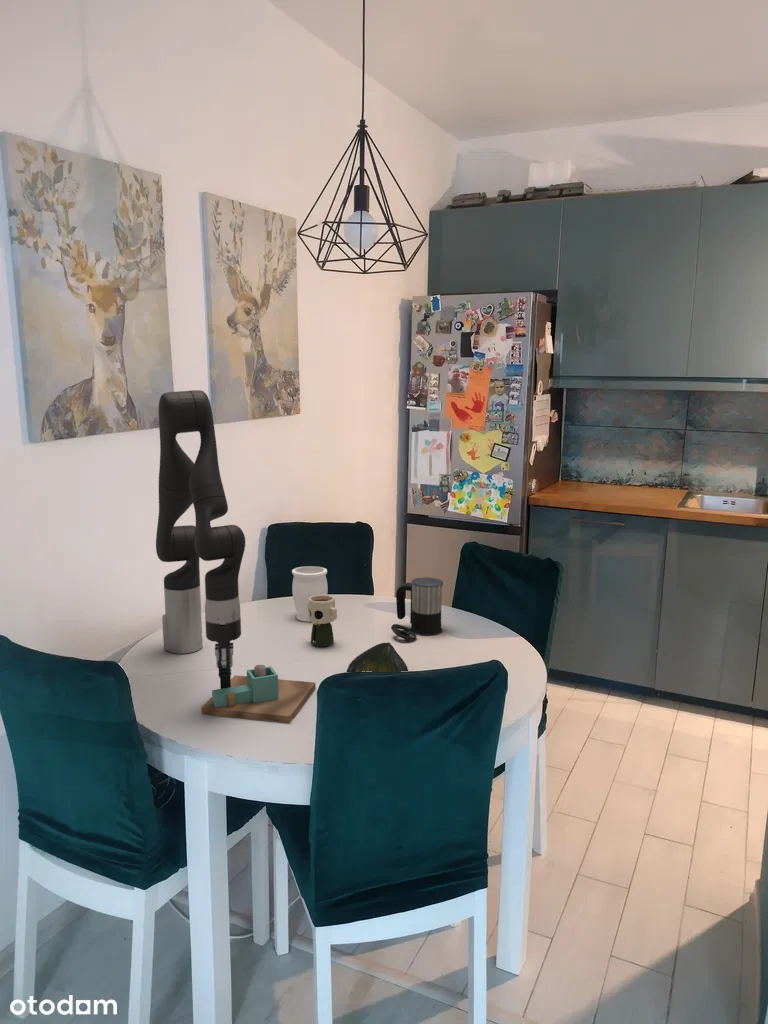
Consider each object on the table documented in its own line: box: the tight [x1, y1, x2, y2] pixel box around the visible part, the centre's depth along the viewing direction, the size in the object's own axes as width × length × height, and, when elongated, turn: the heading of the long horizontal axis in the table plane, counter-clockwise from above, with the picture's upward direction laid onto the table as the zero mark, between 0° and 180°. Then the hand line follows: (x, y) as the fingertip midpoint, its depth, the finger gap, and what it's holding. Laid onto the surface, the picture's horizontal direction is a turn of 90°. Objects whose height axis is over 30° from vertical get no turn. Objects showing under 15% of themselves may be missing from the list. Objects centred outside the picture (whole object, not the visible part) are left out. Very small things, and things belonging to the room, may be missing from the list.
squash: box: [346, 642, 409, 672], centre depth 160 cm, size 14×15×15 cm
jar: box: [291, 565, 329, 623], centre depth 221 cm, size 11×10×15 cm
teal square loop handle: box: [211, 665, 279, 707], centre depth 161 cm, size 14×6×6 cm, turn 114°
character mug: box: [307, 594, 338, 647], centre depth 199 cm, size 11×7×13 cm, turn 49°
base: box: [200, 664, 317, 724], centre depth 163 cm, size 20×18×8 cm
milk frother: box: [390, 576, 444, 641], centre depth 207 cm, size 14×16×15 cm
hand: (225, 690), depth 163 cm, fingers closed
